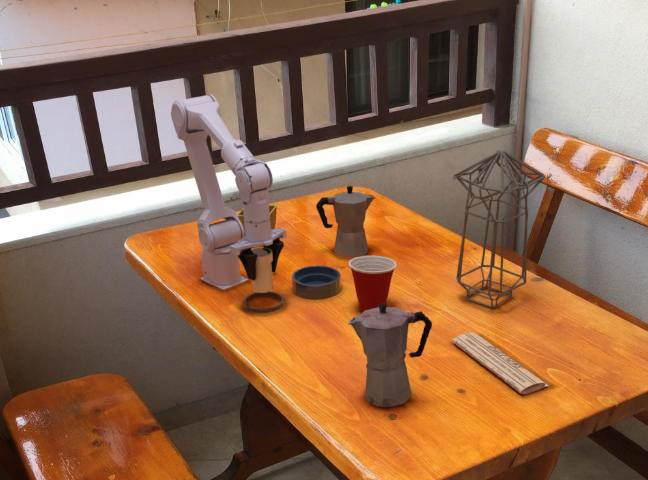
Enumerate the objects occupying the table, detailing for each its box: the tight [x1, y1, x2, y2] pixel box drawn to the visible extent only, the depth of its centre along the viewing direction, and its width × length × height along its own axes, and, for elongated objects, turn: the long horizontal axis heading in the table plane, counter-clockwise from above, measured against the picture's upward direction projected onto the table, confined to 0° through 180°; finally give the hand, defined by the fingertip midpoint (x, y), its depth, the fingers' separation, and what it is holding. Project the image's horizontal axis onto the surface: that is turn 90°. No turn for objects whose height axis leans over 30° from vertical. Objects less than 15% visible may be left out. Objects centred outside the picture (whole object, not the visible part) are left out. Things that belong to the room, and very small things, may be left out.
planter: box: [291, 264, 342, 300], centre depth 207 cm, size 12×12×4 cm
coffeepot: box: [315, 185, 376, 259], centre depth 222 cm, size 15×9×18 cm, turn 103°
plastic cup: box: [348, 255, 397, 313], centre depth 196 cm, size 11×11×12 cm
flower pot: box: [237, 204, 277, 237], centre depth 232 cm, size 9×9×9 cm
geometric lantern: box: [452, 150, 546, 309], centre depth 193 cm, size 16×16×35 cm
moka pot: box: [348, 303, 433, 408], centre depth 162 cm, size 10×15×20 cm, turn 95°
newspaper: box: [452, 332, 550, 395], centre depth 176 cm, size 24×7×2 cm, turn 28°
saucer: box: [242, 290, 285, 314], centre depth 201 cm, size 9×10×2 cm
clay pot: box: [251, 247, 274, 293], centre depth 197 cm, size 6×6×9 cm
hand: (261, 274), depth 197 cm, fingers closed on clay pot, 5 cm apart
